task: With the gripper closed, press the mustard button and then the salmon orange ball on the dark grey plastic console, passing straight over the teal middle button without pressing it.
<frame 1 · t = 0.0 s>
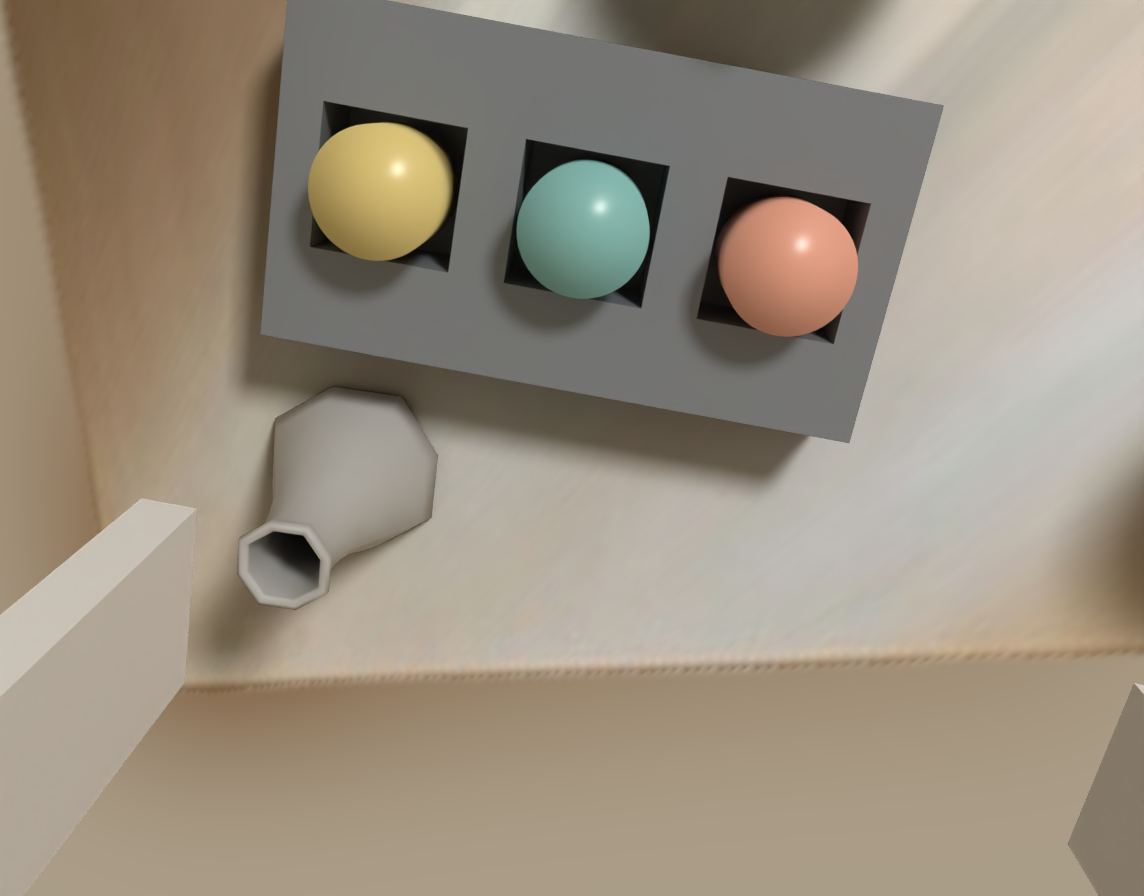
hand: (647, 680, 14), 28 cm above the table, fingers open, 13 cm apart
console: (588, 213, 40), on the table
salmon orange ball: (782, 263, 36), point 4 cm above the table, slide at 0.0 cm
flask: (357, 464, 44), on the table
teal button: (584, 226, 36), point 4 cm above the table, slide at 0.0 cm
mustard button: (386, 189, 36), point 4 cm above the table, slide at 0.0 cm
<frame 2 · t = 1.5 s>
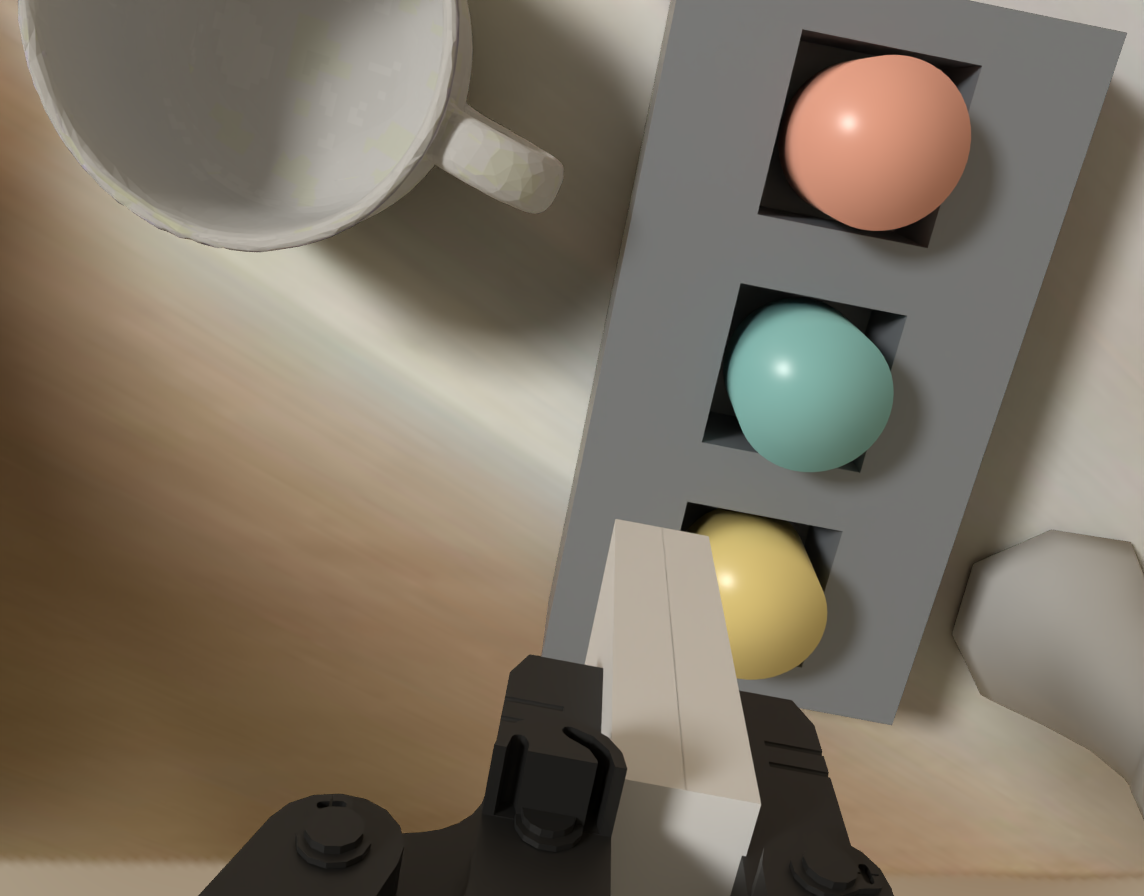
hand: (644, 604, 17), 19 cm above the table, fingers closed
console: (781, 349, 35), on the table
salmon orange ball: (868, 142, 29), point 4 cm above the table, slide at 0.0 cm
teacup: (365, 76, 33), on the table
flask: (1048, 614, 38), on the table
teal button: (802, 381, 31), point 4 cm above the table, slide at 0.0 cm
mustard button: (746, 588, 33), point 4 cm above the table, slide at 0.0 cm
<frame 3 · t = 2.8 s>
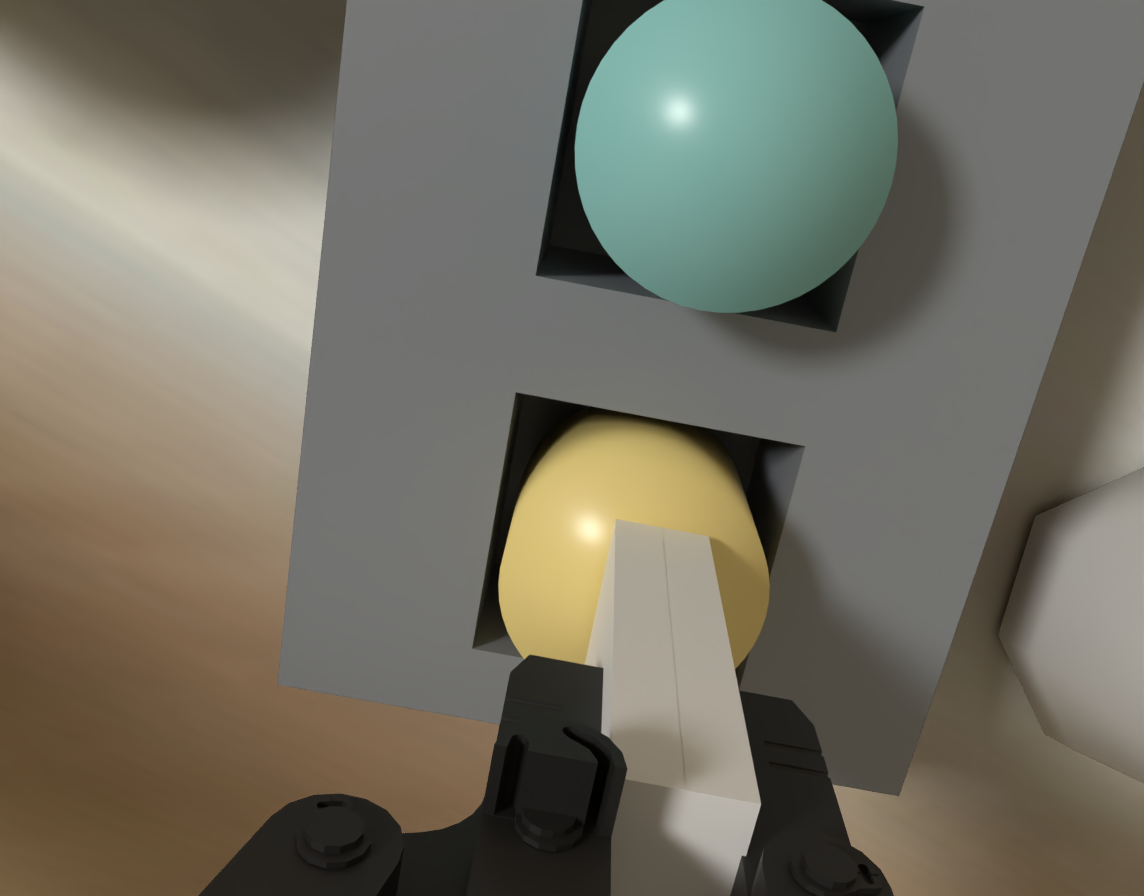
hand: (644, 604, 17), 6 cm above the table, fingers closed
console: (700, 137, 20), on the table
teal button: (721, 147, 16), point 4 cm above the table, slide at 0.0 cm
mustard button: (631, 545, 19), point 4 cm above the table, slide at 0.4 cm, touching gripper
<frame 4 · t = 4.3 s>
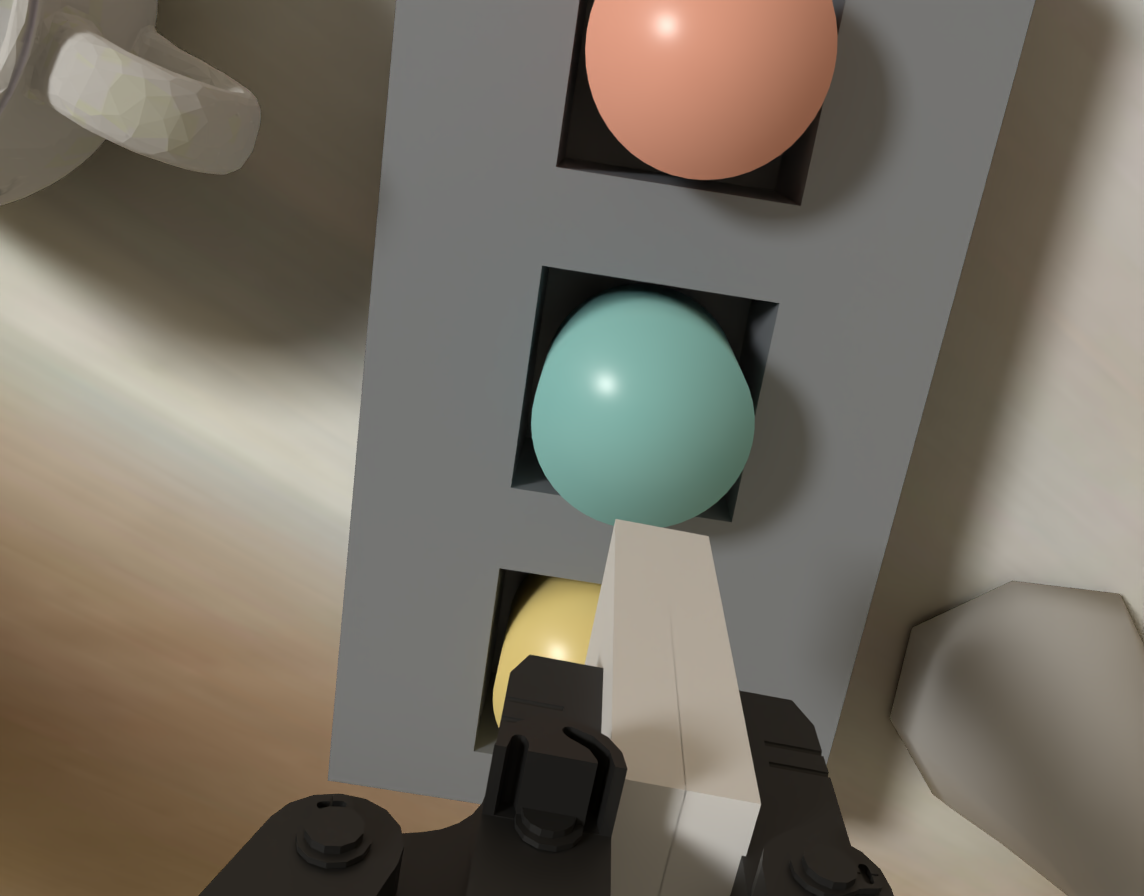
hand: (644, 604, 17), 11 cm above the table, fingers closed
console: (637, 355, 26), on the table
salmon orange ball: (702, 55, 20), point 4 cm above the table, slide at 0.0 cm
teacup: (49, 7, 24), on the table
flask: (1016, 688, 29), on the table
teal button: (640, 400, 22), point 4 cm above the table, slide at 0.0 cm
mustard button: (591, 661, 25), point 3 cm above the table, slide at 1.0 cm
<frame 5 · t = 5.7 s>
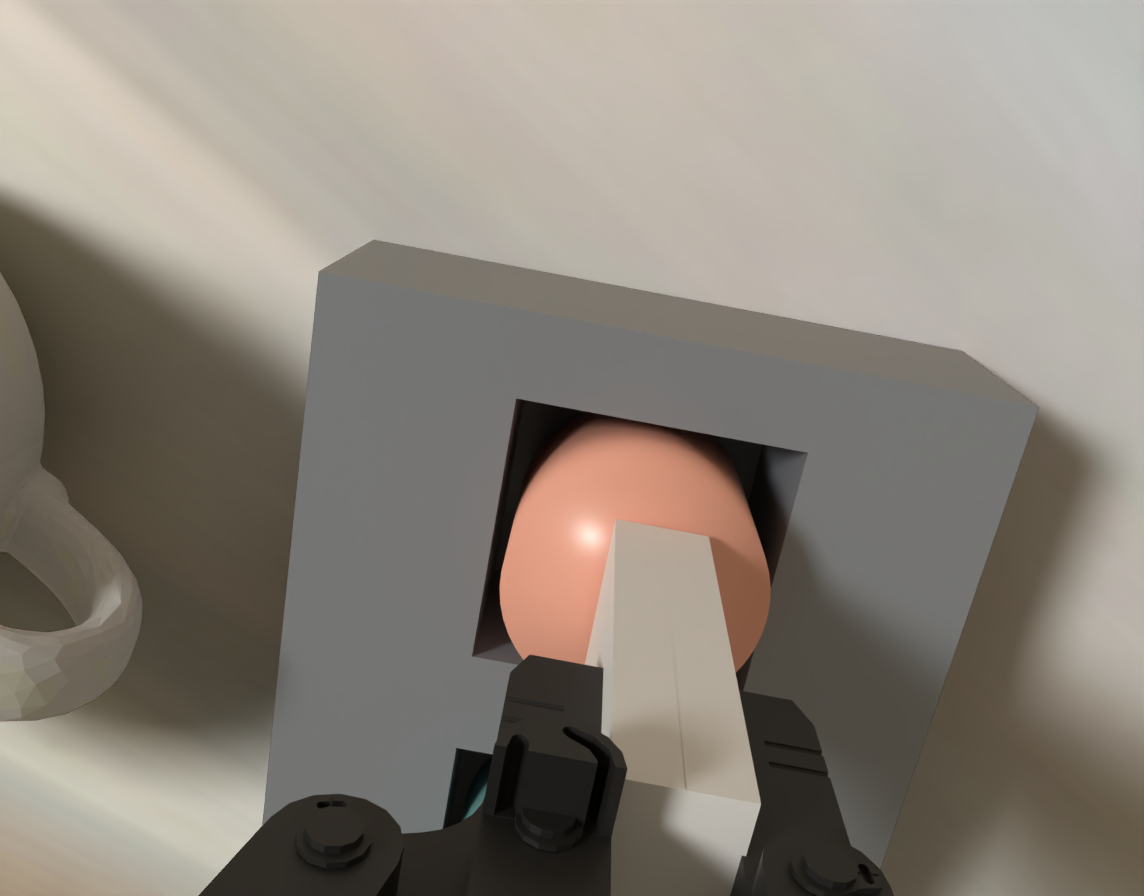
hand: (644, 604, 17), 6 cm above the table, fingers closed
console: (571, 754, 24), on the table
salmon orange ball: (632, 549, 19), point 4 cm above the table, slide at 0.6 cm, touching gripper
teal button: (562, 881, 20), point 4 cm above the table, slide at 0.0 cm
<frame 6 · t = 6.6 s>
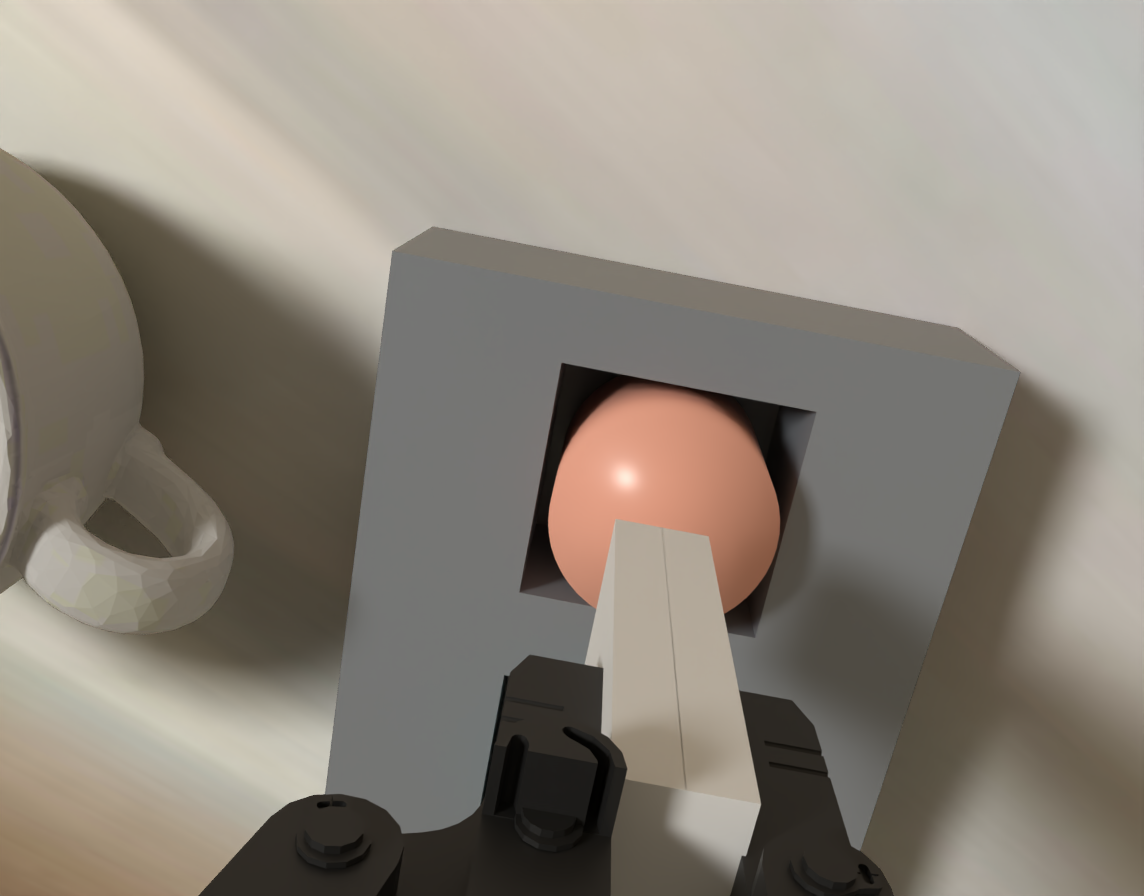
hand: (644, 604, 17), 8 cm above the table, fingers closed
console: (602, 695, 27), on the table
salmon orange ball: (661, 491, 21), point 3 cm above the table, slide at 0.9 cm
teacup: (42, 361, 25), on the table
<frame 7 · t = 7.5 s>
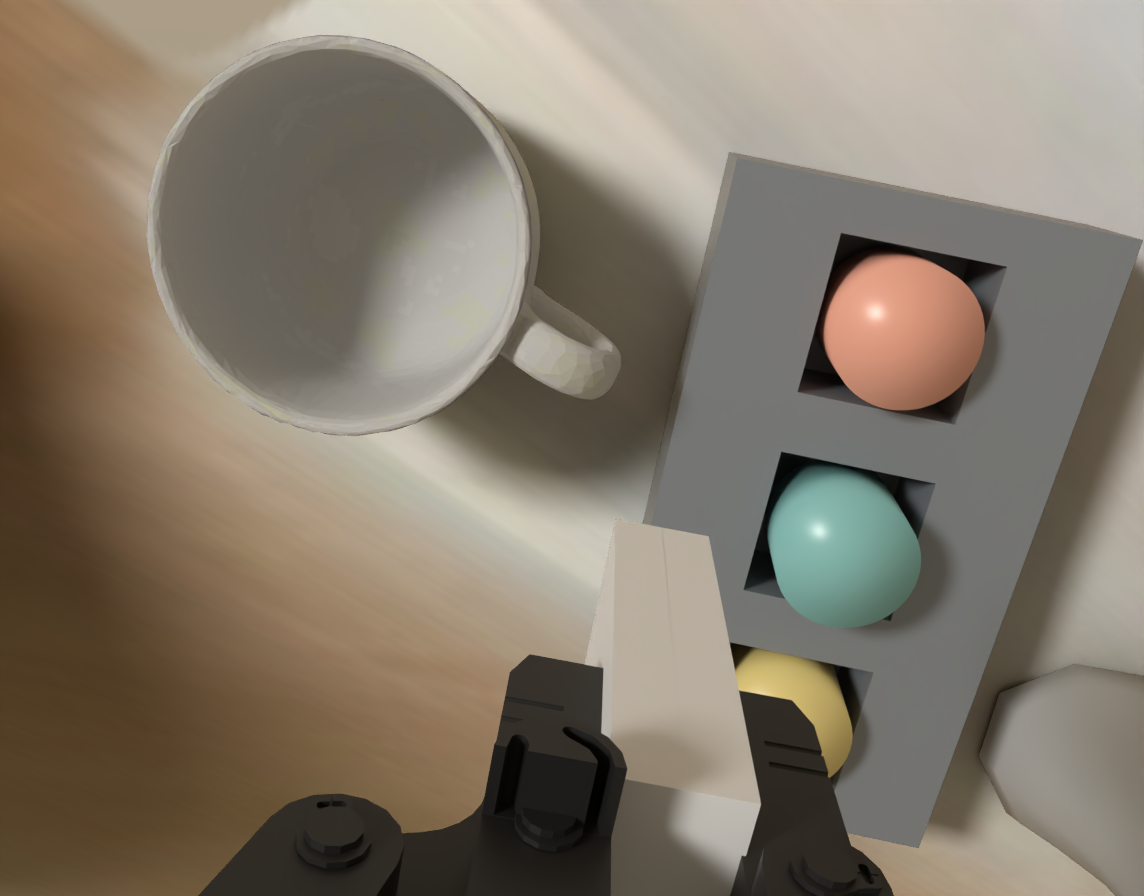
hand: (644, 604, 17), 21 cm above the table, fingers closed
console: (819, 494, 37), on the table
salmon orange ball: (894, 325, 32), point 3 cm above the table, slide at 0.9 cm
teacup: (441, 246, 36), on the table
flask: (1071, 739, 40), on the table
teal button: (837, 540, 34), point 4 cm above the table, slide at 0.0 cm
mustard button: (780, 706, 37), point 3 cm above the table, slide at 1.0 cm
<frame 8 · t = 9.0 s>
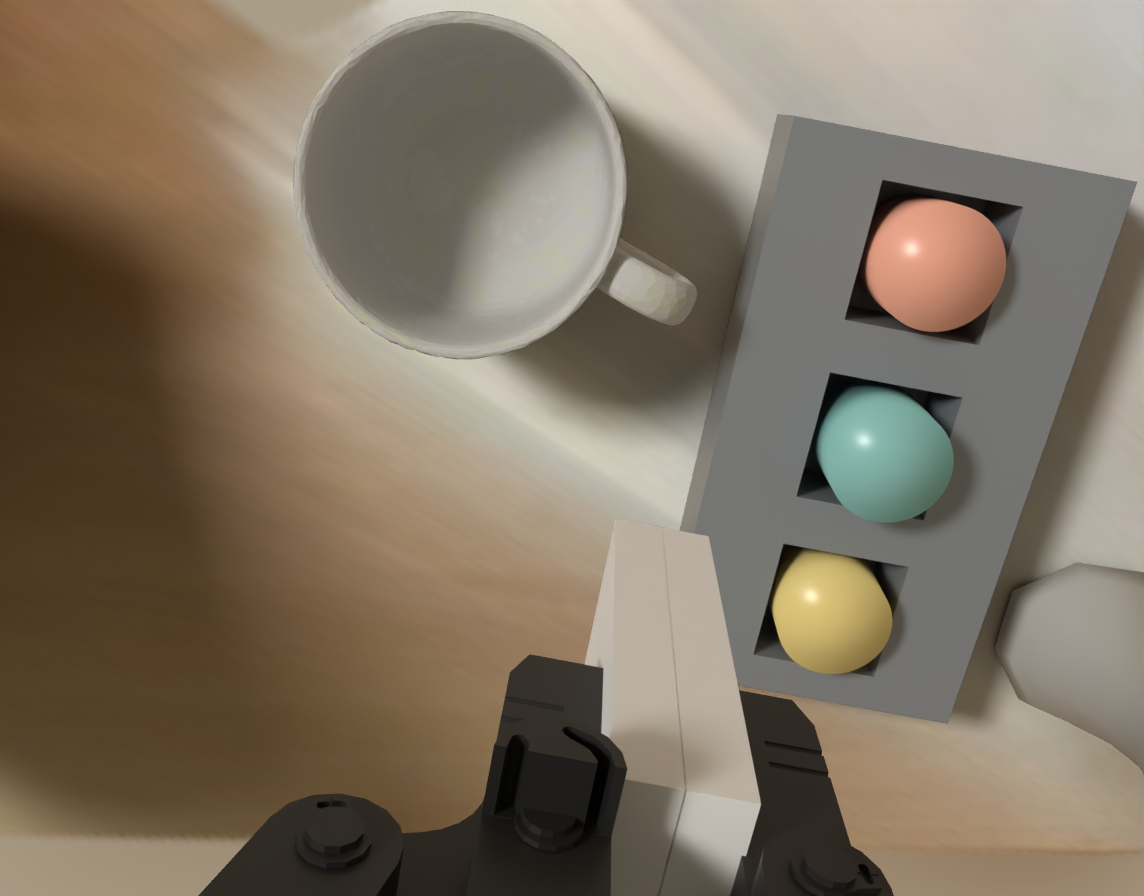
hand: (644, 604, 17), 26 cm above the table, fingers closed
console: (855, 417, 43), on the table
salmon orange ball: (925, 261, 37), point 3 cm above the table, slide at 0.9 cm
teacup: (522, 202, 41), on the table
flask: (1074, 631, 46), on the table
teal button: (878, 449, 39), point 4 cm above the table, slide at 0.0 cm
mustard button: (825, 602, 42), point 3 cm above the table, slide at 1.0 cm
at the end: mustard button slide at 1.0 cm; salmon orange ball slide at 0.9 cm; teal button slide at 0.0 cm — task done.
